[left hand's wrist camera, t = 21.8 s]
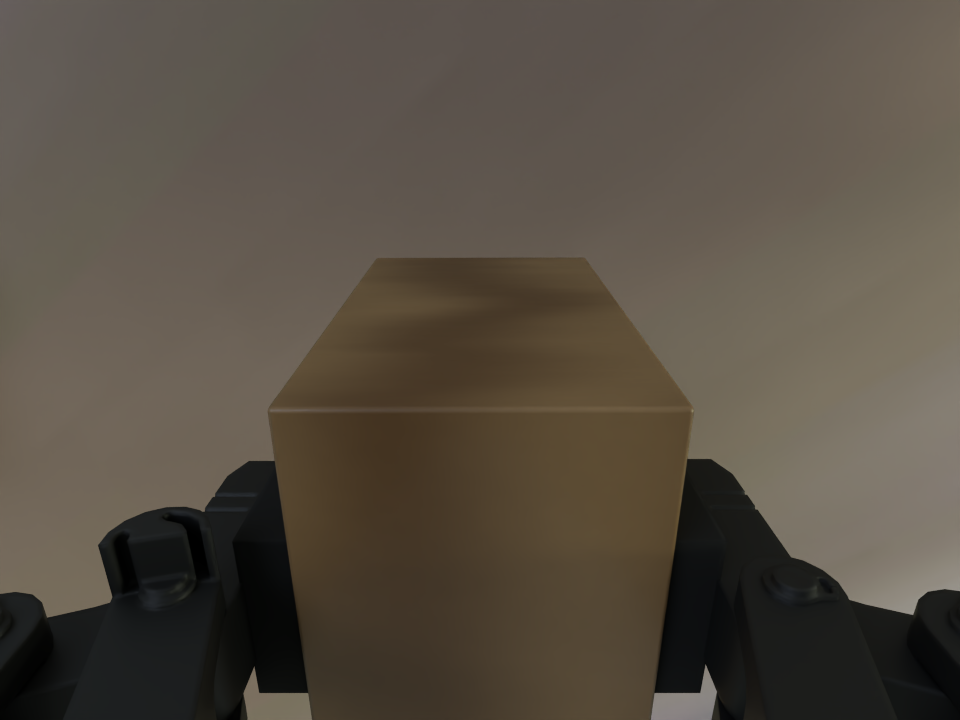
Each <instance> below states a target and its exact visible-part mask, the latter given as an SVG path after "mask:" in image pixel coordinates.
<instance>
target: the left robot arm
mask: <svg viewBox="0 0 960 720" xmlns="http://www.w3.org/2000/svg"><path fill="white" fill-rule="evenodd" d="M98 547H99V550H100V554H101V557H102V561H103V564H104V568H105V572H106V575H107V579H108V582H109V586H110V589H111V593H112V600H111V602H110V603H107V604H104V605H101V606H97V607H93V608H89V609H84V610H80V611H75V612H71V613H66V614H62V615H58V616H53V617H49V618H47V616H46V613H45V610H44V607H43V604H42V602H41V601H40V600H38V599H37V598H36V597H35V596H34V595H32V594H25V593H19V592H12V593H5V594H0V720H247V712H246V705H245V700H244V694H243V693H244V690H245V688H246V685H247V683H248V680H249V678H250V675H251V673H252V671H253V668H254V666H255V671H256V677H257V683H258V688H259V693H308V687H307V680H306V673H305V666H304V659H303V653H302V646H301V639H300V632H299V625H298V618H297V611H296V604H295V597H294V590H293V583H292V576H291V569H290V563H289V556H288V549H287V542H286V535H285V528H284V521H283V514H282V507H281V500H280V493H279V486H278V479H277V473H276V466H275V461H248V462H247V463H246V464H244V465H243V466H241V467H240V468H238V469H237V470H236V471H234V472H233V473H231V474H230V475H228V476H227V478H226V479H225V480H224V482H223V483H222V485H221V486H220V488H219V489H218V490H217V492H216V493H215V497H213V498H212V499H211V501H210V502H209V503H208V505H207V506H206V508H205V512H202V511H200V510H197V509H192V508H188V507H166V508H161V509H157V510H153V511H148V512H145V513H142V514H140V515H138V516H135V517H133V518H131V519H128V520H126V521H124V522H123V523H121V524H120V525H118V526H117V527H115V528H114V529H113V530H111V531H110V532H108V534H107V535H106V536H105V537H104V539H103V540H102V541H101V542H100V544H99V545H98ZM705 664H706V666H707V668H708V671H709V673H710V676H711V678H712V681H713V683H714V685H715V688H716V690H717V694H716V700H715V705H714V710H713V715H712V720H960V591H954V590H946V589H943V590H937V591H930V592H927V593H926V594H925V595H924V596H922V597H921V598H920V599H919V600H918V603H917V606H916V609H915V612H914V615H910V614H905V613H901V612H896V611H892V610H887V609H883V608H878V607H874V606H869V605H865V604H862V603H858V602H855V601H851V600H849V599H848V596H847V595H846V593H845V592H844V590H843V589H842V587H841V586H840V584H839V583H838V582H837V581H836V580H834V579H833V578H832V577H831V576H829V575H828V574H827V573H826V572H824V571H823V570H821V569H819V568H817V567H815V566H813V565H811V564H809V563H807V562H805V561H803V560H799V559H795V558H791V557H790V555H789V554H788V552H787V551H786V550H785V548H784V547H783V545H782V544H781V542H780V541H779V540H778V538H777V537H776V535H775V534H774V533H773V531H772V530H771V528H770V527H769V525H768V524H767V523H766V521H765V520H764V518H763V517H762V515H761V514H760V513H759V511H758V510H755V505H754V504H753V503H752V501H751V500H750V498H749V497H748V496H747V495H745V491H744V490H743V488H742V487H741V486H740V484H739V483H738V481H737V480H736V478H735V477H734V476H733V474H732V473H730V472H729V471H727V470H726V469H724V468H723V467H722V466H720V465H719V464H717V463H716V462H714V461H713V460H711V459H687V464H686V472H685V479H684V486H683V493H682V500H681V507H680V514H679V521H678V529H677V536H676V543H675V550H674V557H673V564H672V571H671V578H670V586H669V593H668V600H667V607H666V614H665V621H664V628H663V635H662V643H661V650H660V657H659V664H658V671H657V678H656V685H655V692H654V693H700V691H701V686H702V680H703V675H704V669H705Z"/></svg>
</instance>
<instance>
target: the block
mask: <svg viewBox="0 0 960 720" xmlns="http://www.w3.org/2000/svg"><path fill="white" fill-rule="evenodd" d="M693 415H694V409H693V406H692V405H691V404H690V402H689V401H688V400H687V398H686V397H685V395H684V394H683V393H682V391H681V390H680V389H679V387H678V386H677V384H676V383H675V382H674V380H673V379H672V378H671V376H670V375H669V373H668V372H667V371H666V369H665V368H664V366H663V365H662V364H661V362H660V361H659V360H658V358H657V357H656V355H655V354H654V353H653V351H652V350H651V349H650V347H649V346H648V344H647V343H646V342H645V340H644V339H643V338H642V336H641V335H640V333H639V332H638V331H637V329H636V328H635V327H634V325H633V324H632V322H631V321H630V320H629V318H628V317H627V315H626V314H625V313H624V311H623V310H622V309H621V307H620V306H619V304H618V303H617V302H616V300H615V299H614V298H613V296H612V295H611V293H610V292H609V291H608V289H607V288H606V287H605V285H604V284H603V282H602V281H601V280H600V278H599V277H598V276H597V274H596V273H595V271H594V270H593V269H592V267H591V266H590V264H589V263H588V262H587V260H586V259H585V258H378V259H376V260H375V262H374V263H373V264H372V266H371V267H370V268H369V270H368V271H367V273H366V274H365V275H364V277H363V278H362V280H361V281H360V282H359V284H358V285H357V286H356V288H355V289H354V291H353V292H352V293H351V295H350V296H349V298H348V299H347V300H346V302H345V303H344V304H343V306H342V307H341V309H340V310H339V311H338V313H337V314H336V315H335V317H334V318H333V320H332V321H331V322H330V324H329V325H328V327H327V328H326V329H325V331H324V332H323V333H322V335H321V336H320V338H319V339H318V340H317V342H316V343H315V344H314V346H313V347H312V349H311V350H310V351H309V353H308V354H307V356H306V357H305V358H304V360H303V361H302V362H301V364H300V365H299V367H298V368H297V369H296V371H295V372H294V374H293V375H292V376H291V378H290V379H289V380H288V382H287V383H286V385H285V386H284V387H283V389H282V390H281V391H280V393H279V394H278V396H277V397H276V398H275V400H274V401H273V403H272V404H271V405H270V407H269V409H268V417H269V424H270V431H271V438H272V445H273V452H274V459H275V466H276V473H277V479H278V486H279V493H280V500H281V507H282V514H283V521H284V528H285V535H286V542H287V549H288V556H289V563H290V569H291V576H292V583H293V590H294V597H295V604H296V611H297V618H298V625H299V632H300V639H301V646H302V653H303V659H304V666H305V673H306V680H307V687H308V694H309V701H310V708H311V715H312V720H651V714H652V707H653V699H654V692H655V685H656V678H657V671H658V664H659V657H660V650H661V643H662V635H663V628H664V621H665V614H666V607H667V600H668V593H669V586H670V578H671V571H672V564H673V557H674V550H675V543H676V536H677V529H678V521H679V514H680V507H681V500H682V493H683V486H684V479H685V472H686V464H687V457H688V450H689V443H690V436H691V429H692V422H693Z"/></svg>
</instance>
